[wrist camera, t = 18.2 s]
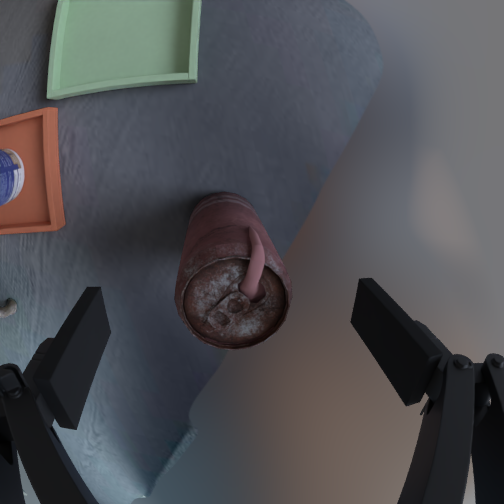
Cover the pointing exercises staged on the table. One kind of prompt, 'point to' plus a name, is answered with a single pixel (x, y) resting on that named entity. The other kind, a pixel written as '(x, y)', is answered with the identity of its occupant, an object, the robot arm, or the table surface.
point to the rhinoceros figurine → (8, 308)
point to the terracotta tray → (34, 173)
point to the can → (230, 276)
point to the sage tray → (122, 45)
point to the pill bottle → (10, 175)
